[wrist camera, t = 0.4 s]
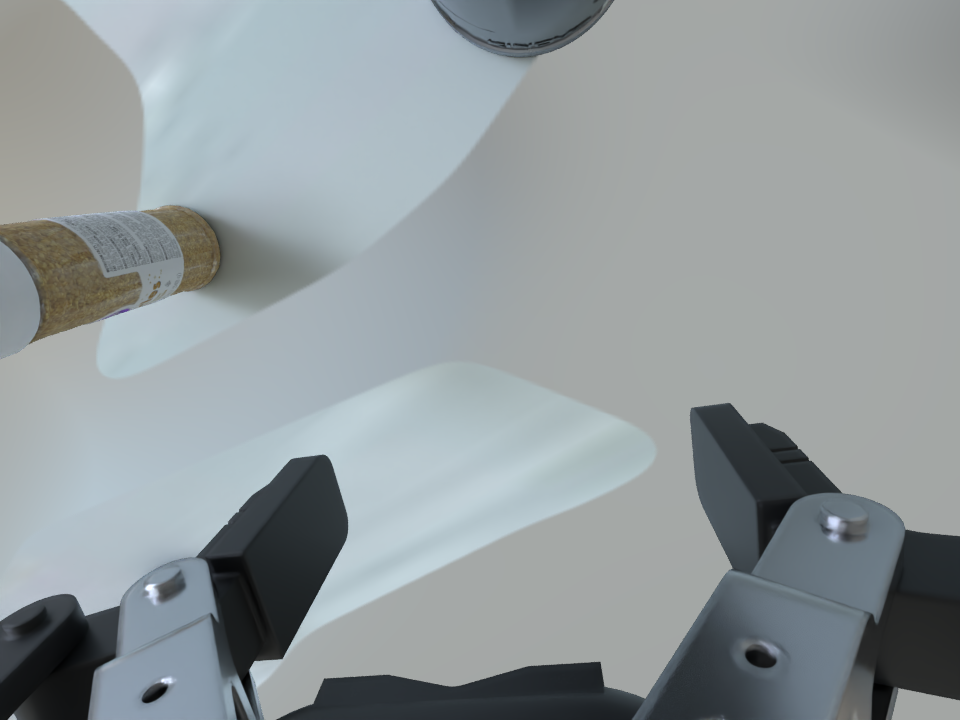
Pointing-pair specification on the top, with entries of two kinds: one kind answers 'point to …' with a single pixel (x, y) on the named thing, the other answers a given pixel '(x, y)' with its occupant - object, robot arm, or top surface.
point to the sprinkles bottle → (97, 268)
